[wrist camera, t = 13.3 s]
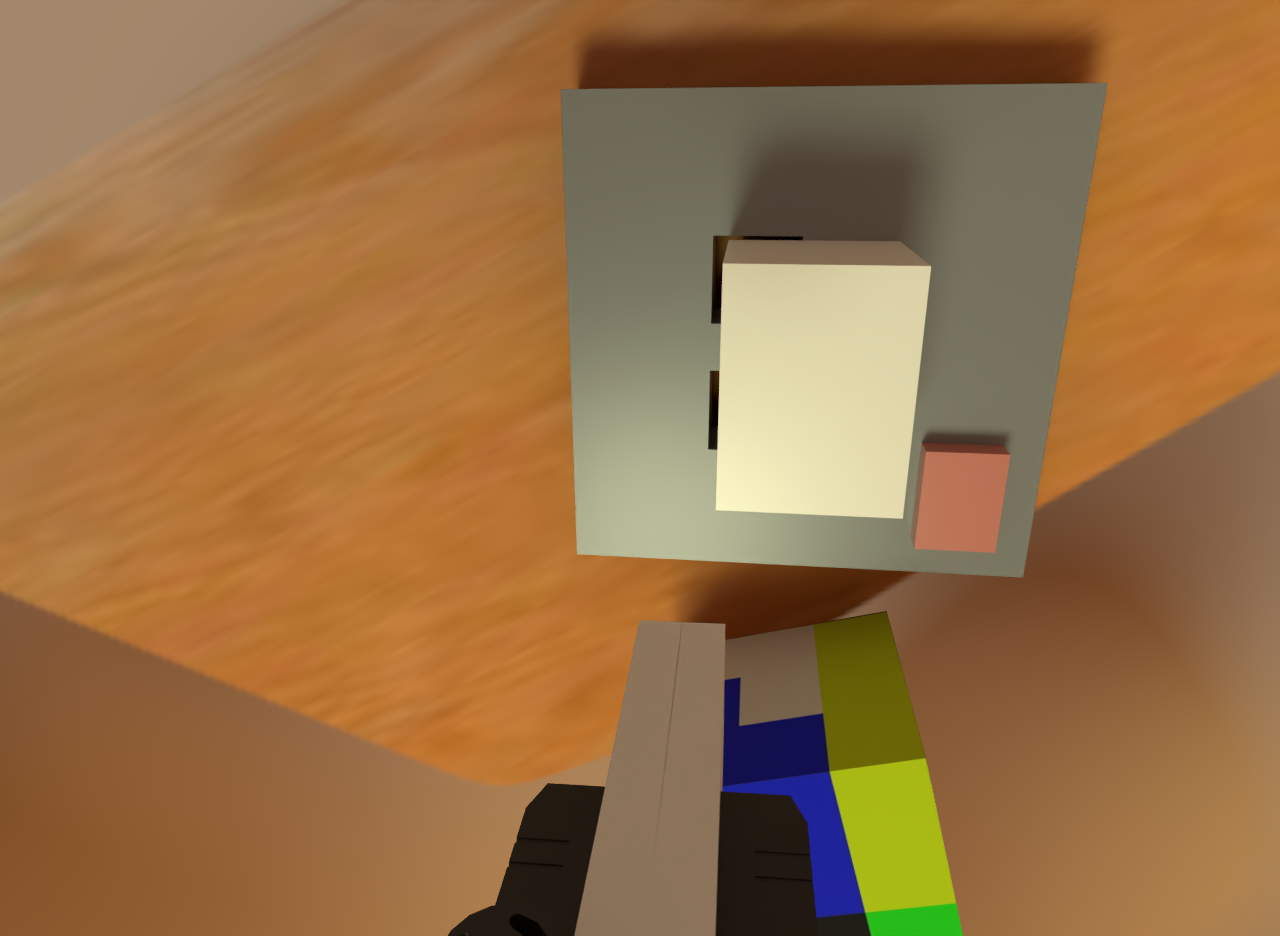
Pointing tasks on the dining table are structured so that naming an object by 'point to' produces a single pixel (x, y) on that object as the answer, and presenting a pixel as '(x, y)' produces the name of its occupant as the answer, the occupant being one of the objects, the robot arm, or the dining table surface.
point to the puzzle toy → (843, 771)
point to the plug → (818, 376)
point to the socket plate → (828, 211)
